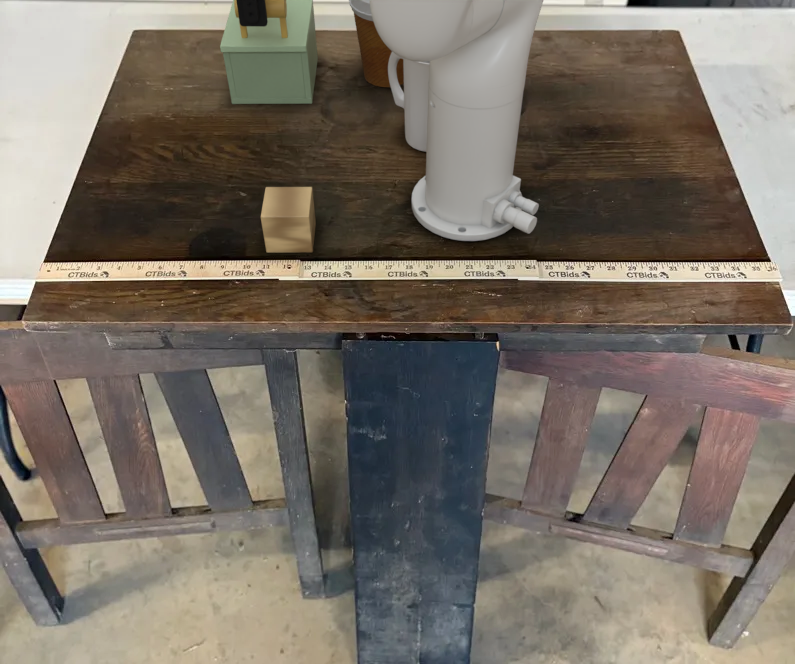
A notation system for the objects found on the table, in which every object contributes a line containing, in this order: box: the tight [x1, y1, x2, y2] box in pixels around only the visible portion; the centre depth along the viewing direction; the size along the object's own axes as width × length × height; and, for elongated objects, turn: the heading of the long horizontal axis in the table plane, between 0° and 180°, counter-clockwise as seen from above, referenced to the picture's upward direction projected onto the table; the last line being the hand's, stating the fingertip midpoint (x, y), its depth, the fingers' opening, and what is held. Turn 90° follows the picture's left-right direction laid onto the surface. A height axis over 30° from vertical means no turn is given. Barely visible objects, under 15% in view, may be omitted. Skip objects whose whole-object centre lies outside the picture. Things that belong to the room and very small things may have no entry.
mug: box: [388, 52, 430, 153], centre depth 96 cm, size 10×7×12 cm, turn 50°
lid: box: [219, 0, 314, 53], centre depth 101 cm, size 12×11×6 cm
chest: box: [222, 7, 319, 105], centre depth 106 cm, size 12×11×8 cm
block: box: [260, 186, 317, 254], centre depth 86 cm, size 5×5×5 cm
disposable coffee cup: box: [348, 0, 404, 88], centre depth 105 cm, size 10×10×12 cm
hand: (258, 5), depth 97 cm, fingers open, 9 cm apart
